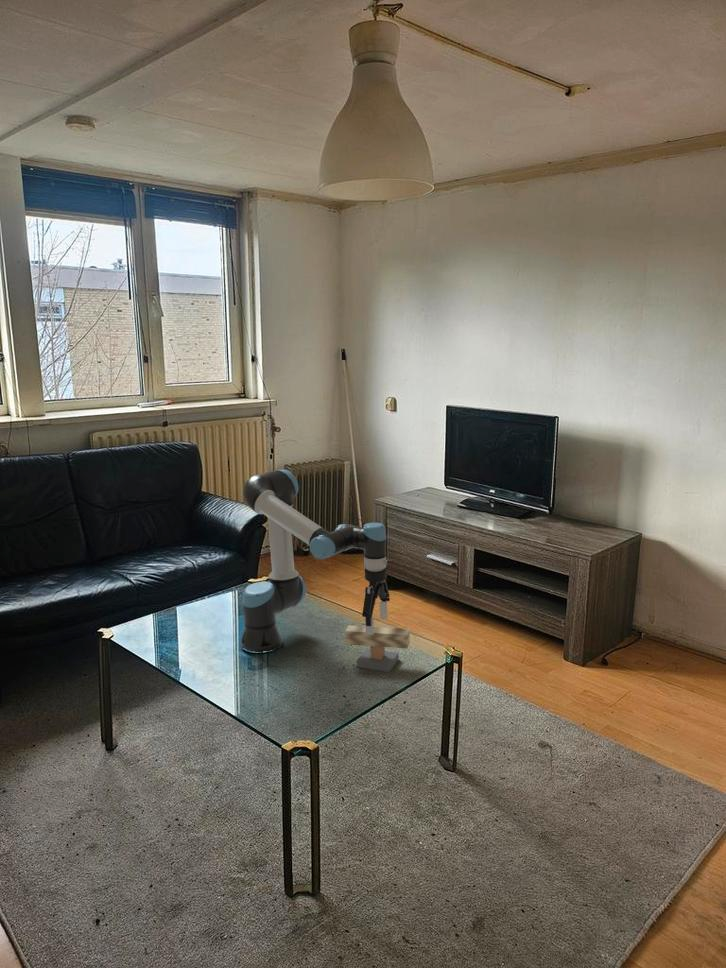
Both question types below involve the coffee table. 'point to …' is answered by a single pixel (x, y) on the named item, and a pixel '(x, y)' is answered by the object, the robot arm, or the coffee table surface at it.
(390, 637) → the beam
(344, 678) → the coffee table surface
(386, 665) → the fulcrum
